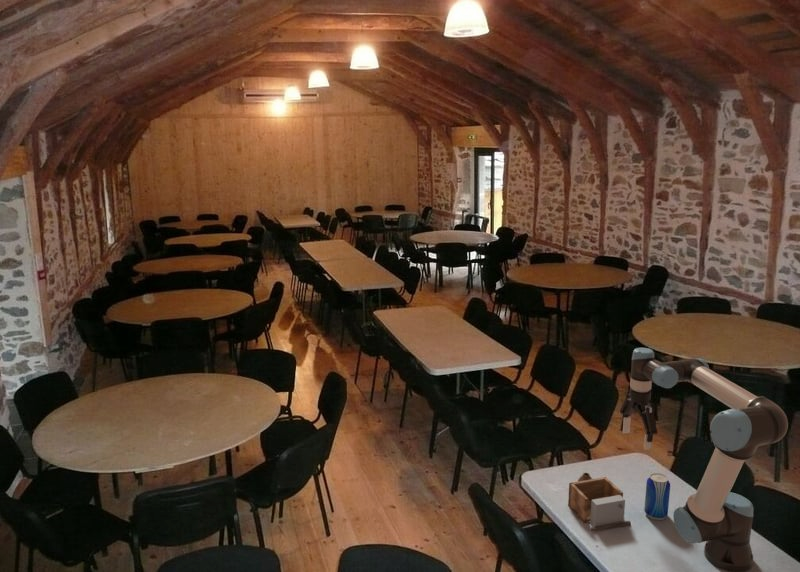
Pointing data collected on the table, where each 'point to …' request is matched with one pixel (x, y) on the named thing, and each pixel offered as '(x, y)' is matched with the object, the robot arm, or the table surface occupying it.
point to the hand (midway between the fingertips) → (636, 440)
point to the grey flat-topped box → (607, 510)
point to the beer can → (657, 496)
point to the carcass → (589, 491)
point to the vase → (584, 477)
